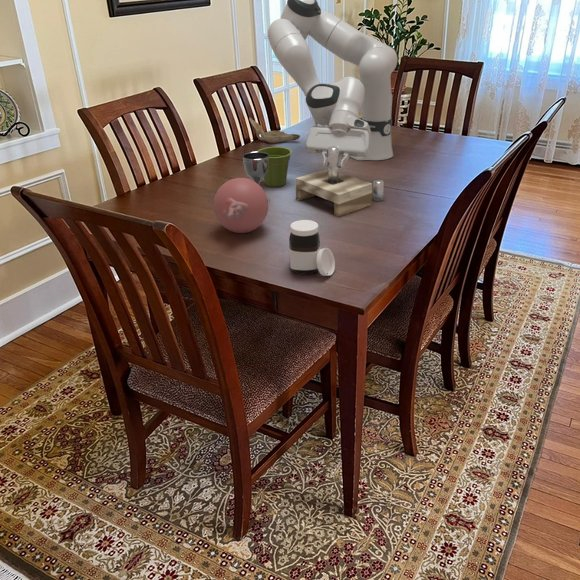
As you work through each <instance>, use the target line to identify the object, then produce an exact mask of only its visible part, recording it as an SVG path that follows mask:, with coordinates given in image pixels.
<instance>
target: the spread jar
mask: <svg viewBox="0 0 580 580" xmlns="http://www.w3.org/2000/svg"><path fill="white" fill-rule="evenodd" d="M288 245H289V246H288V248H289V252H288V253H289V267H290V270H291V271H292V272H294V273H296V272H297V273H296V274H299V273H310V274H313V273H312V272H314V273H315V272H319V274H320V275H321V276H322V277H326V276H327V277H328V276H332V275H333V274H334V272H335V267H336V261H335V257H334V253H333V252H332V250H331V249H330V248H328V247H324V248H321V236H320V232H319V224H318V223H317V222H316V221H314V220H309V219H300V220H296V221H292V223H290V233H289V237H288ZM327 273H328V274H327Z"/></svg>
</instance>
